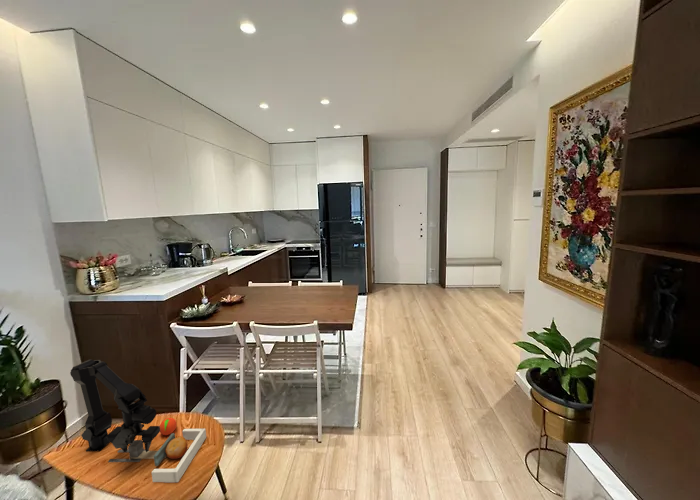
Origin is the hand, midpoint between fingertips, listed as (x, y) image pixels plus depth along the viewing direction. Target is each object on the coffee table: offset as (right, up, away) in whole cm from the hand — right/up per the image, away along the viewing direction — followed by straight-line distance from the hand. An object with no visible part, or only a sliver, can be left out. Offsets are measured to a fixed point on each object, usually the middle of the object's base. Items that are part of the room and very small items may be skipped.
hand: (136, 451), depth 123 cm
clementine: (+6, -1, +13) cm, 14 cm away
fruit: (+17, -2, +1) cm, 17 cm away
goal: (+20, -2, -1) cm, 20 cm away
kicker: (+5, -2, 0) cm, 6 cm away
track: (-3, -3, 0) cm, 4 cm away
